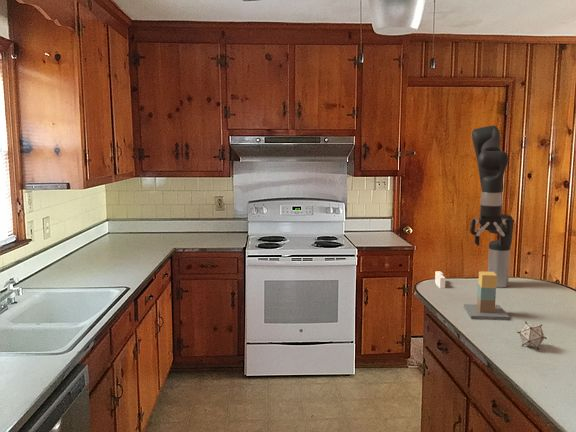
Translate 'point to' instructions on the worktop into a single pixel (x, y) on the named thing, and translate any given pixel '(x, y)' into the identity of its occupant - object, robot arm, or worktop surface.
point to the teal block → (486, 293)
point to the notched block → (439, 279)
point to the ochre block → (487, 279)
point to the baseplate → (485, 315)
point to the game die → (532, 335)
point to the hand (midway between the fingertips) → (489, 245)
